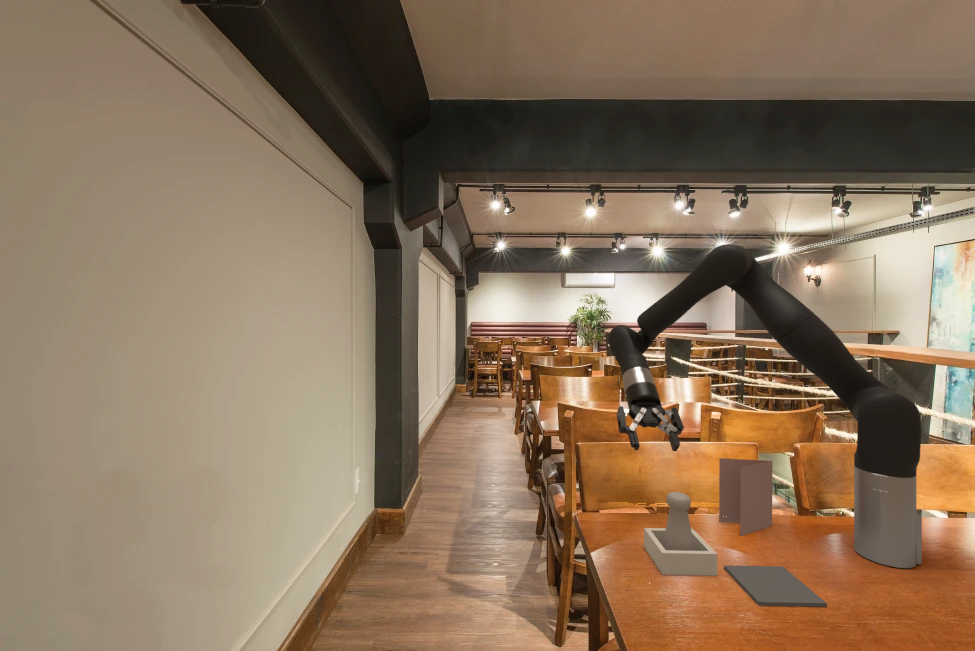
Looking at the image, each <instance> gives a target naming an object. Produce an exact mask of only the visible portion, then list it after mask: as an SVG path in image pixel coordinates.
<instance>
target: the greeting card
mask: <svg viewBox="0 0 975 651" xmlns="http://www.w3.org/2000/svg"><path fill="white" fill-rule="evenodd" d="M718 467H719V469H718V470H719V471H718V472H719V473H718V474H719V475H718V476H719V480H718V481H719V488H718V489H719V492H718V493H719V496H718V499H719V500H718V502H719V504H718V506H719V507H718V510H719V511H718V513H719V514H718V516H719V517H718V519H719V520H718V522H719V523H722V524H723V523H727V524H740V528H739V529H740V530H739V532H740V537H742V536H746V535H749V534H751V533H755V532H758V531H760V530H763V529H766V528H769V527H772V526H773V460H766V459H765V460H764V459H763V460H761V459H745V458H744V459H740V458H725V457H724V458H721V457H720V458H719V466H718ZM723 516H724V517H723ZM726 516H727V517H726ZM745 534H746V535H745Z"/></svg>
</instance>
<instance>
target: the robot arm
mask: <svg viewBox="0 0 975 651" xmlns="http://www.w3.org/2000/svg"><path fill="white" fill-rule="evenodd" d="M725 286H727V287H729V288H730V289H731V290H733V291H734V292H735V293H736V294H737V295H738V296H740V298H742V299H743V300H744V301H745V302H746V303H747V304H748V305H749V307H750V308H751V309H752V311H753V312H754V314H755V316H756V317H757V319H758V320H759V321H760V323H761V324H762V326H763V327H764V329H765V330H766V331H767V333H768V334H769V335H770V336H771V337H772V338H773V340H774V341H776V343H777V344H778V345H779V346H781V347H782V348H783V350H784V351H785V352H787V354H789V355H790V357H791V358H793V359H794V360H796V362H798V363H799V364H800V365H801V366H803V367H804V368H805V369H806V370H807V371H809V372H810V373H812V374H813V375H814V376H816V378H818V379H820V380H821V381H822V382H823V384H825V385H826V386H828V387H829V389H830V390H832V391H833V393H834V394H835V395H836V396H837V398H838V399H839V400H840V401H841V403H842V404H843V405H844V406H845V408H846V409H847V411H849V413H851V415H852V416H853V418H854V420H856V422H857V432H856V433H857V443H856V451H855V452H854V455H853V456H854V458H853V463H854V464H853V470H854V471H853V478H854V479H853V480H854V484H853V486H854V488H853V490H854V491H853V496H854V498H853V502H854V504H853V506H854V508H853V509H854V510H853V526H854V527H853V550H854V551H855V552H856V553H857V554H859V555H860V556H861V557H863V558H864V559H868V561H869V560H870V561H872V562H875V563H878V564H880V565H883V566H887V567H888V566H889V567H894V568H898V569H912V568H916V566H917V565H922V564H923V563H922V560H923V559H922V558H923V557H922V556H923V555H922V554H923V546H922V545H923V541H922V540H923V538H922V536H923V526H922V524H923V516H922V515H921V514H920V513H919V512H917V472H918V465H919V463H920V460H921V446H922V445H921V444H922V442H921V441H922V419H921V413H920V411H919V408H918V406H917V405H916V404H915V403H914V402H913V401H912V400H911V399H909V398H908V397H906V396H904V395H902V394H901V393H899V392H896V391H894V390H892V389H891V388H890V387H889V386H886V384H885V383H883V382H881V381H880V380H879V379H878V378H876V377H875V376H874V375H873V374H872V373H870V372H869V371H868V370H867V369H866V368H864V367H863V366H862V365H861V364H860V363H859V362H858V361H857V360H856V359H855V357H854V356H853V355H852V353H851V352H850V351H849V349H848V348H847V346H846V345H845V344H844V342H842V340H841V339H840V337H838V335H837V334H836V333H835V332H834V331H833V330H832V328H830V327H829V326H828V325H827V324H826V323H825V322H824V321H823V320H822V319H821V318H820V317H819V316H818V315H816V313H814V311H812V310H811V309H810V308H808V306H806V305H805V304H804V303H803V302H802V301H801V300H799V299H798V298H797V297H795V296H794V295H793V294H792V293H790V291H787V290H786V289H785V288H783V287H782V286H781V285H780V284H779V283H777V282H776V281H775V280H774V279H773V278H772V276H770V275H769V274H768V272H767V271H766V270H765V269H764V268H763V267H762V265H760V263H759V262H758V261H757V260H756V258H755V257H754V256H753V255H752V254H751V252H750V251H749V250H748V249H747V248H746V247H744V246H741V245H738V244H729V243H727V244H726V243H725V244H721V245H718V246H715V247H714V248H712V250H710V252H709V253H708V254H707V255H706V256H705V257H704V258H703V259H702V261H701V262H699V264H698V265H697V266H696V267H695V268H694V269H693V271H692V272H691V273H689V274H688V276H686V277H685V278H684V279H683V280H682V281H681V282H680V283H679V284H677V285H676V286H675V287H674V288H673V289H671V290H670V291H669V292H667V293H666V294H665V295H664V296H662V297H660V298H659V299H658V300H657V301H655V302H654V303H653V304H651V306H649V307H648V308H647V309H646V310H644V311H643V312H641V313H640V314H639V315H638V316H637V320H636V322H637V326H638V327H639V329H640V330H639V331H635V330H634V329H632V328H631V327H629V326H627V325H624V324H619V325H615V326H614V327H613V328H611V330H609V334H608V337H607V338H608V347H609V349H610V351H611V353H612V355H613V357H614V358H615V360H616V362H617V363H618V366H619V368H620V373H621V377H622V385H623V391H624V394H625V397H626V403H627V407H628V408H624V406H622V405H620V406H618V408H617V410H616V413H615V414H616V418H617V427H618V428H617V429H618V432H619V433H620V434H626V435H627V436H628V440H629V443H630V444H629V445H630V447H631V448H633V450H634V451H639V450H640V447H641V446H640V441H639V437H638V436H639V435H638V433H637V431H636V430H638V427H639V426H640V427H642V428H658V429H659V430H660V431H661V432H664V433H665V434H666V435H668V440H669V444H670V448H671V450H672V452H677V451H678V449H679V448H680V446H681V442H680V439H679V435H681V434H682V432H683V430H684V428H685V426H684V423H683V421H682V419H681V416H680V414H679V411H678V409H677V407H671V409H664V407H663V406H662V402H661V399H660V395H659V392H658V389H657V386H656V382H655V379H654V376H653V375H652V373H651V372H652V371H651V369H650V367H649V363H648V359H647V358H646V356H645V355H644V354H645V353H646V351H647V350H648V349H649V348H650V346H651V345H652V343H654V341H655V340H656V339H657V337H658V336H659V335H660V334H661V333H663V332H664V331H666V330H667V329H668V328H670V326H672V325H674V324H675V323H676V322H677V321H678V320H680V319H681V318H682V317H683V316H684V315H686V314H687V312H688V311H690V310H691V309H692V308H693V307H694V306H695V305H697V303H699V302H700V301H702V300H703V299H704V298H706V297H707V296H709V295H710V294H712V293H714V292H715V291H717V290H720V289H721V288H724V287H725ZM627 416H629V417H630V418H631V419H632V420H633V421H632V422H631V424H630V425H627V421H626V418H627ZM661 422H662V423H661Z"/></svg>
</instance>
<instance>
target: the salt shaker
mask: <svg viewBox="0 0 975 651" xmlns="http://www.w3.org/2000/svg"><path fill="white" fill-rule="evenodd" d="M666 504H667V506H668V507H669V511H668V516H667V522H666V527H665V528H666V530H665V535H664V540H663V547H664V549H665V550H676V551H695V549H694V544H693V538H692V533H691V529H692V528H691V527H692V526H691V523H690V518H689V512H688V510H689V509H690V508H691V506H692V502H691V498H690V496H689V495H687V494H685V493H683V492H679V491H671V492H668V494H667V495H666Z"/></svg>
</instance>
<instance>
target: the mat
mask: <svg viewBox="0 0 975 651" xmlns="http://www.w3.org/2000/svg"><path fill="white" fill-rule="evenodd" d="M723 569H724V571H726V572H727V573H728V575H729V576H730V577H732V579H733V580H734V581H735V582H736V583H737V584H738V585H739V586H740V588H742V589H743V590H744V592H746V594H747V595H748V596H749V597H750V598H751V599H752V600H753V601H754V602H755V604H757V605H758V606H760V607H761V606H765V607H766V606H769V607H771V606H772V607H812V608H815V607H816V608H821V607H823V608H827V607H828V603H827V602H826V601H825V600H824V599H822V598H821V597H820V596H819V595H818V594H816V593H815V592H814V591H813V590H812V589H811V588H810V587H808V586H807V585H806V584H804V583H803V582H802V580H800V579H799V578H797V577H796V576H795V575H794V574H793V573H791V571H789V570H788V569H787V568H786V567H785V566H781V565H779V566H778V565H773V566H772V565H770V566H769V565H723Z"/></svg>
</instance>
